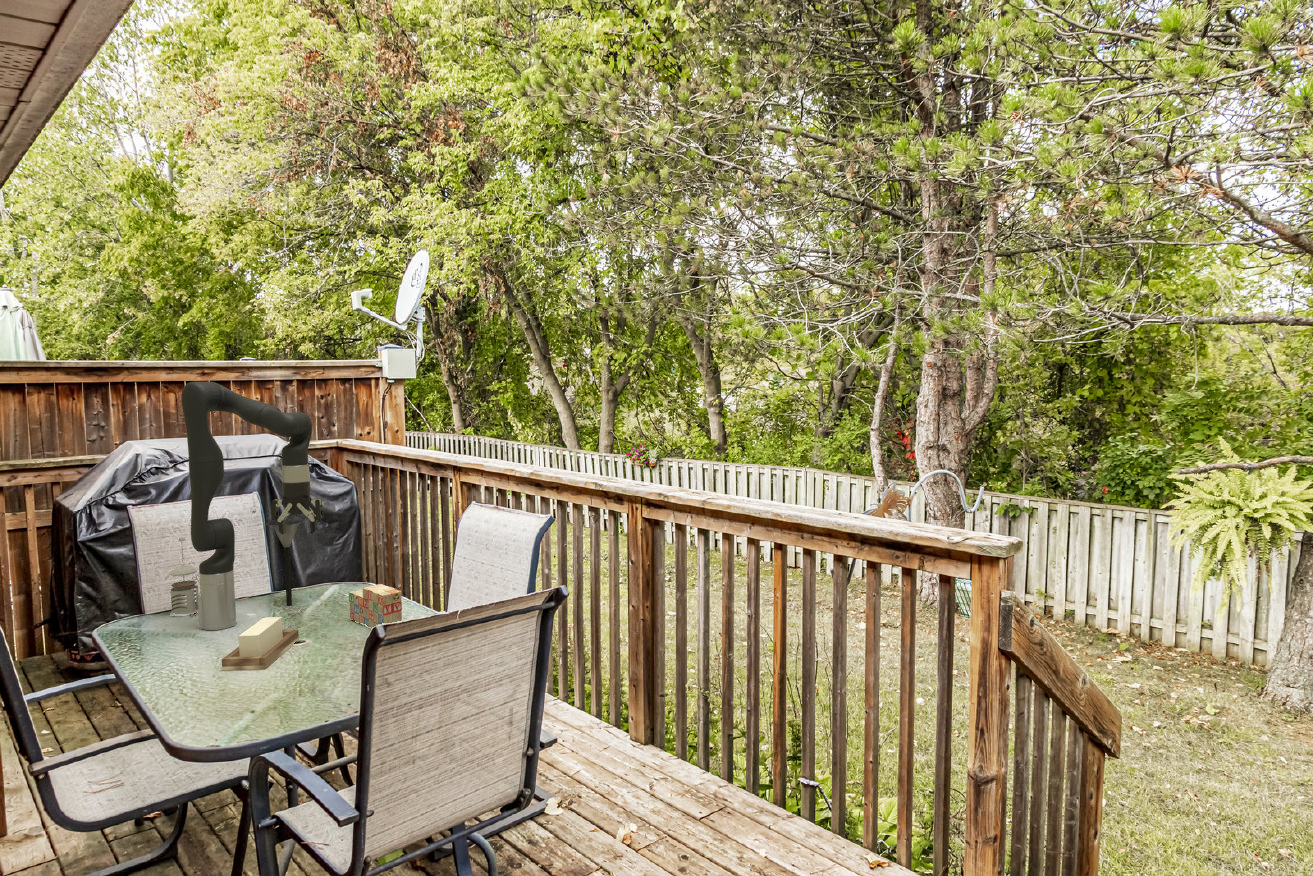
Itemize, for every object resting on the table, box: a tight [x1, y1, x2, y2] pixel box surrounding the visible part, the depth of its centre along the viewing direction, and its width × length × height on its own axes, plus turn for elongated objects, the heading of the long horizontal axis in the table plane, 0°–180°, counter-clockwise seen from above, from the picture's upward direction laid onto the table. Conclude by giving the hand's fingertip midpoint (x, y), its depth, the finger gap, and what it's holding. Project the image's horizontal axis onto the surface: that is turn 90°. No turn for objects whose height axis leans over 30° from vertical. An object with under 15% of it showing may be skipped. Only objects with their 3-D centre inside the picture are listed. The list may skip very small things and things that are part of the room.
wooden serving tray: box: [221, 629, 300, 671], centre depth 218 cm, size 11×23×3 cm, turn 4°
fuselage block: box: [238, 616, 283, 657], centre depth 218 cm, size 5×16×7 cm, turn 5°
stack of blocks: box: [348, 583, 403, 630], centre depth 243 cm, size 21×6×12 cm, turn 48°
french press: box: [168, 536, 201, 614], centre depth 256 cm, size 10×12×25 cm
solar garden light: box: [265, 514, 306, 607], centre depth 264 cm, size 12×12×30 cm
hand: (298, 533), depth 234 cm, fingers open, 8 cm apart
